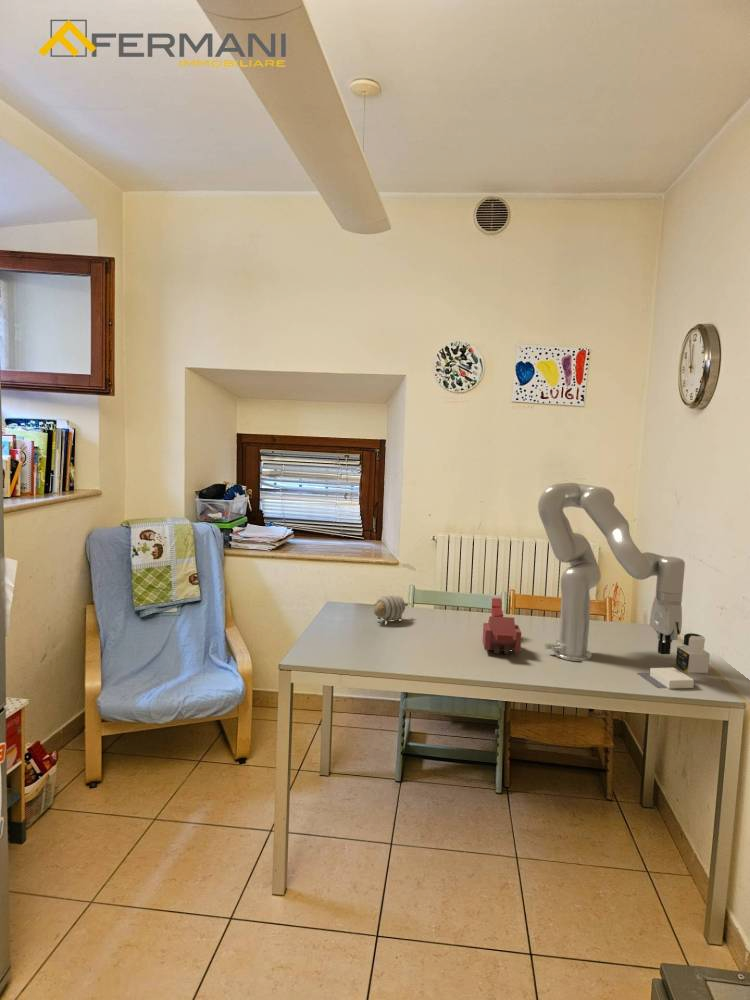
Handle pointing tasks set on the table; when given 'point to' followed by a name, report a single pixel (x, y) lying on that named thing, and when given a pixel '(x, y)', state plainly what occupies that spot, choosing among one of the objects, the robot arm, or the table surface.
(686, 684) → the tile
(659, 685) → the mat
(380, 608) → the toy sheep
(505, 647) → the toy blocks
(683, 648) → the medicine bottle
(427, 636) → the table surface
